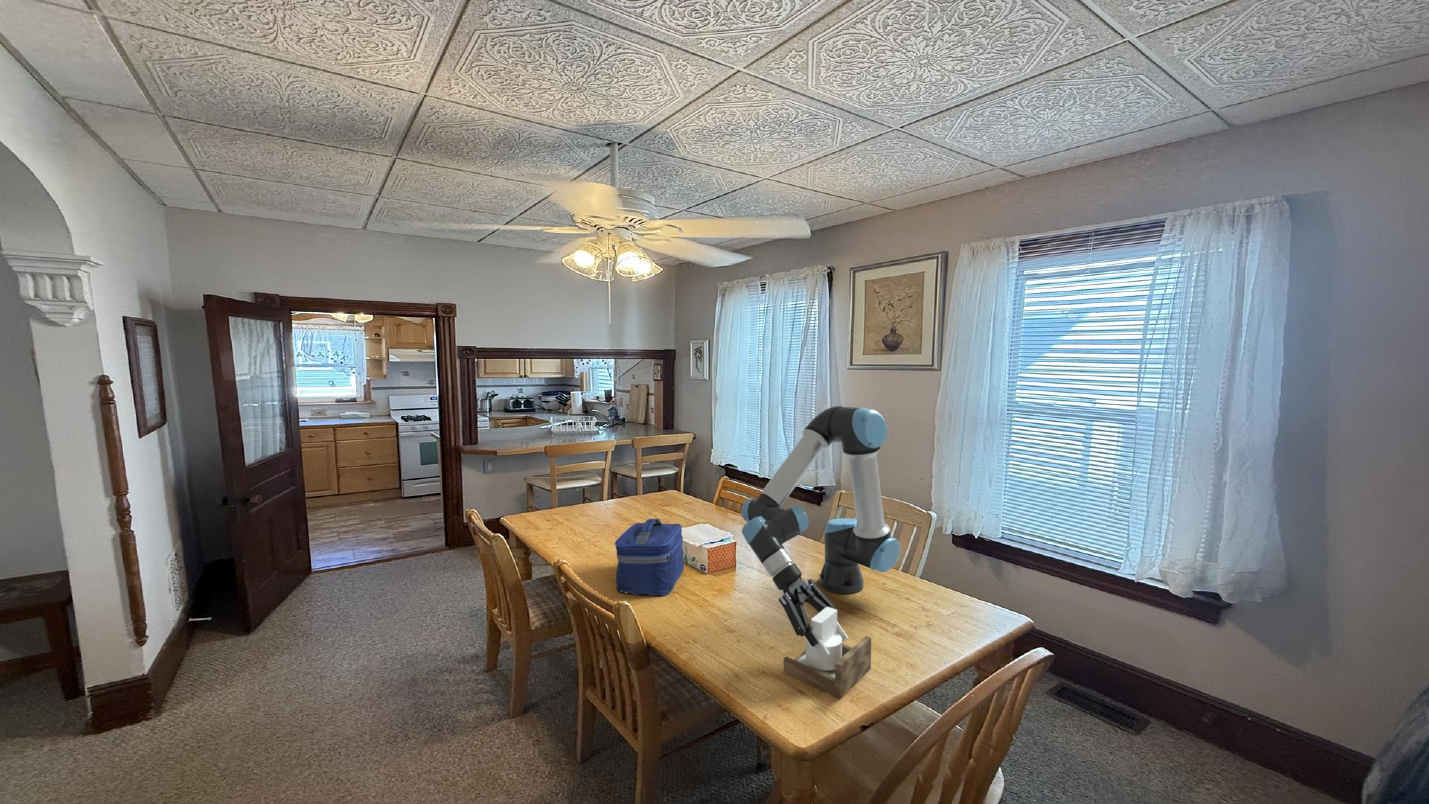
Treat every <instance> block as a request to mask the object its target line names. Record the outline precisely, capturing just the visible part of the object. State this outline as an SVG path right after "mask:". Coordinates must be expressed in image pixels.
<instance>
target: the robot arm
mask: <svg viewBox="0 0 1429 804" xmlns="http://www.w3.org/2000/svg"><path fill="white" fill-rule="evenodd" d="M887 427H888V426H887V423H886V420H885V419H884V417H883V416H882V414H881V413H879V412H878V411H877V410H875V409H869V408H867V407H851V406H850V407H849V406H842V405H841V406H840V405H837V406H836V405H835V406H831V407H829V408H826V409H824V410H823V411H821V412H820V413H819V414H817V415H816V416H815V417H814V418H813V419H812V420H811V421H810V422H809V423H808V424H807V425H806V427H805V428H804V429H803V431H802V437H801V438H800V439H799V441H798V443H796V445H795V447H794V448H793V449H792V450H791V452H790V453H789V454H788V456H787V457H786V459H784V461H783V463H782V464H781V465H780V466H779V467H778V469H777V470H776V472H775V473H774V474H773V476H772V477H771V478H770V479H769V481H768V482H767V484H766V486H764V488H763V489H762V490H761V492H760V493H759V494H758V496H757V497H756V499H755V498H750V499H748V500H746V501H744V503H743V504H742V508H741V517H742V519H743V520H744V521H745V522H746V523H745V524H744V525H743V527H742V528H741V534H742V536H743V537H744V540H745V541H746V543H747V545H748V546H749V547H750V549H751V550H752V552H753V553H754V555H755V556H756V557H757V559H758V560H759V561H760V563H761V564H762V566H763V568H764V569H765V570H766V572H767V574H768V575H769V577H773V578H772V581H773V583H774V584H775V586H776V587H777V589H778V590H779V591H782V593H783V594H782V596H780V597H779V598H778V602H779V603H780V604H781V606H782V608H783V609H784V611H785V614H786V615H787V617H788V620H789V622H790V624H791V627H792V629H793V631H794V633H795V634H796V636H798V637H799V636H800V637H805V639H806V638H807V640H808V641H809V643H810V644H811V646H812V647H814V649H815V650H816V652H817V653H818V655H819V656H820V658H821V659H823V658H824V657H826V656H827V655H829V654H830V652H829V651H828V649H827V648H826V647H825V645H824V644H823V642H822V641H821V639H820V638H819V636H818V635H817V633H816V632H815V630H814V629H813V630H812V631H811V624H810V623H809V619H808V616H807V613H806V609H805V607H804V606H805V605H804V603H806V604H808V605H810V606H811V607H812V608H814V610H816V611H817V612H818V613H820V612H821V611H822V610H823V609H825V608H826V607H830V608H833V609H836V606H835V605H834V603H832V602H831V600H830V599H829V598H828V597H827V596H826V595H825V594H824V592H822V590H820V588H819V587H818V586H817V585H816V583H815V581H814V580H813V579H812V578H809V579H808V580H806V581H805V580H804V579H803V578H802V575H803V574H802V572H801V570H800V569H799V567H798V566H797V564H796V563H793V558H792V557H791V555H790V554H789V553H788V551H787V549H786V548H785V547H784V546H783V544H784V543H786V542H788V541H790V540H792V539H794V538H795V537H797V536H799V535H801V534H802V533H803V532H805V531H806V530H807V529H808V528H809V525H810V521H809V516H808V514H807V513H806V511H805V510H804V509H803V508H802V507H800V506H797V505H796V506H792V507H790V508H788V509H783V508H782V506H783V504H784V503H785V502H786V500H787V499H788V497H789V496H790V495H791V493H793V490H794V489H795V488H796V487H797V485H798V484H799V482H800V481H801V480H802V478H803V476H805V474H806V473H807V472H808V470H809V469H810V468H811V466H812V465H813V463H814V462H815V461H816V460H817V458H818V456H819V455H820V454H821V452H822V451H825V450H827V449H828V448H829V447H830V446H831V444H833V443H835V442H837V443H841V447H842V452H843V454H844V455H846V456H847V457H848V464H849V471H850V479H851V485H852V486H851V488H852V493H853V502H854V503H853V504H854V510H855V516H856V518H848V517H847V518H841V517H840V518H834V519H831V520H828V521H827V522H825V524H824V525H825V526H824V533H823V534H824V562H823V565H822V568H821V571H820V574H819V585H820V586H821V588H823V589H824V590H827V591H829V592H833V593H838V594H855V593H858V592H861V591H862V590H863V589H864V586H865V585H864V583H865V582H864V581H865V580H864V577H863V575H862V571H861V568H860V565H861V566H863V567H866V568H868V569H870V570H871V571H876V572H879V573H887V572H889V571H890V570H891V569H892V568H893V567H894V566H895V565H896V564H897V561H898V560H899V557H900V553H901V544H900V542H899V541H898V540H897V538H895V537H892V535H891V527H890V525H888V524H887V523H885V517H884V509H883V508H884V507H883V501H882V493H881V492H882V491H881V481H880V473H879V465H878V457H877V454H878V453H879V452H880V451H881V447H882V446H883V444H884V443H885V441H886V436H887V435H888V433H887V432H888V429H887ZM837 633H838V634H840V636H841V637H842V643H843V642H844V641H846V640H848V639H849V636H848V634H847V633H846V632H845V630H844V628H842V626H841V623H840V622H839V620H838V619H837Z"/></svg>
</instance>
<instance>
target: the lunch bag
mask: <svg viewBox="0 0 1429 804" xmlns="http://www.w3.org/2000/svg"><path fill="white" fill-rule="evenodd" d="M682 529H683V525H682V524H680V523H662V522H661V520H660V519H659V518H648V519H646V521H645V522H636V523H634V524H633V525H631V526H629V528H627V529H626V530H625V531H624V532H623V533H622V534H621V535H619V537H618V538H617V539H616V540H615V541H614V545H615V549H616V557H617V566H616V571H615V583H616V591H617V590H618V591H617V592H619V591H622V592H627V593H635V594H634V595H638V594H650V595H649V596H654V595H658V597H659V595H660V596H665V595H669V594H670V593H671V592H672V591H673V590H674V588H675V586H676V583H677V582H678V580H679V579H680V577H681V575H682V574H683V571H684V570H685V565H684V564H685V563H684V552H683V551H684V550H683V541H684V538H683V535H682V533H683V531H682Z"/></svg>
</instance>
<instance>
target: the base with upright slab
mask: <svg viewBox="0 0 1429 804" xmlns="http://www.w3.org/2000/svg"><path fill="white" fill-rule="evenodd" d="M837 620H838V609H836V608H835V609H833V608H830V607H826V608H825V609H823V610H822V611H821V612H820V613H819V612H818V613H817V614H815V615H814V616H813V617H812V618H811V619H810V628H811V631H812V630H813V629H814V630H815V632H816V633H817V635H818V636H819V638H820V639H821V641H822V642H823V644H824V645H825V647H826V648H827V649H828V651H829V652H830V654H829V655H827V656H826V657H824V658H823V659H821V658H820V656H819V655H818V653H817V652H816V650H815V649H814V647H812V646H811V644H810V643H809V641H808V640H807V638H806V637H805V641H806V642H805V651H806V660H807V662H808V664H810V665H811V666H813V667H814V668H817V669H821V670H834V669H835V663H836V662H837V661H838V660H839V659H840V658H841V657H842V644H843V642H842V637H841V636H840V634H838V633H837Z"/></svg>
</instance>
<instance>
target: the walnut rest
mask: <svg viewBox="0 0 1429 804" xmlns="http://www.w3.org/2000/svg"><path fill="white" fill-rule="evenodd" d="M871 668H872V637H870V636H868V635H865V636H864V637H863V638H861V640H859V641H858V642H856V644H855V645H853V647H852V646H850V645H846V644H845V643H842V657H841V658H840V659H839V660H838V661H837V662H836V663H835V669H834V670H821V669H817V668H814V667H813V666H811V665H810V664H808V662H807V660H806V650H804V651H803V652H802V653H800V654H799V655H798V656H796V657H795V658H791V657H789V656H785V657H783V668H782V669H783V670H782V671H783V673H784V674H787V675H788V676H790V677H793V678H794V679H796V680H799V681H801V682H803V683H806V684H807V685H810V686H812V687H815V688H816V689H818V690H821V691H822V692H825V693H827V694H829V695H832V696H833V697H835V698H838V699H841V700H842V698H843V697H844V696H846V694H847V693H849V691H851V689H852V688H853V687H854V686H855V685H857V683H859V681H860V680H861V679H862V678H864V676H865V675H867V673H868V672H869V671H870V670H871Z"/></svg>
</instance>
